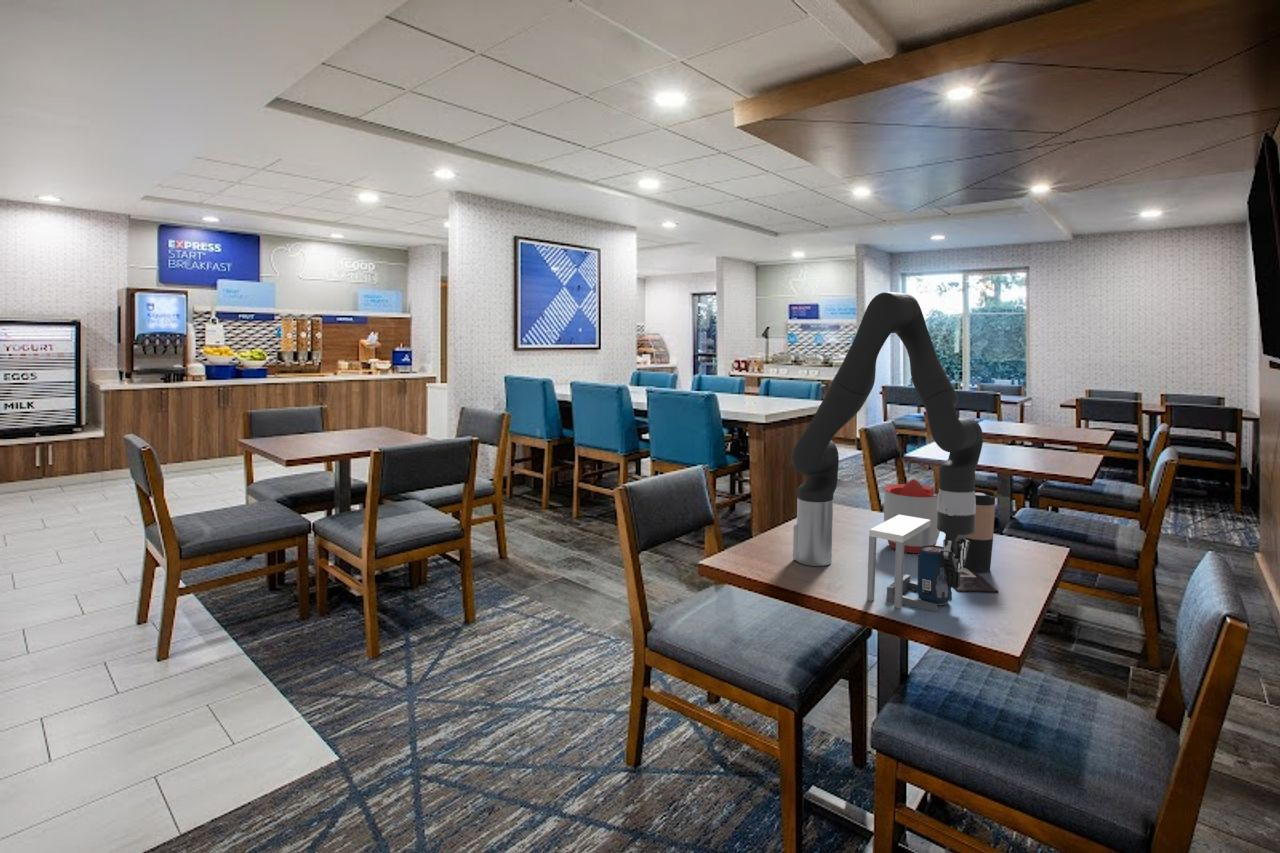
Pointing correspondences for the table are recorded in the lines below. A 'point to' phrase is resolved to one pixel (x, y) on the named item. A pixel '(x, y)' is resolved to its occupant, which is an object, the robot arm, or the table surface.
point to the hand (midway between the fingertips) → (953, 586)
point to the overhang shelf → (898, 558)
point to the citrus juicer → (912, 510)
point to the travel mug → (981, 533)
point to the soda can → (932, 576)
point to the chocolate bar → (974, 583)
